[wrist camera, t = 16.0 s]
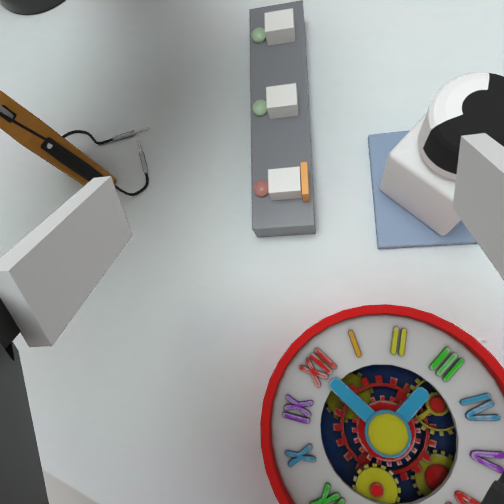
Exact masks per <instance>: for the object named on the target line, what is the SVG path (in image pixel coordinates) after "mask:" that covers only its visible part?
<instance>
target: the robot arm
mask: <svg viewBox="0 0 504 504" xmlns="http://www.w3.org/2000/svg"><path fill="white" fill-rule="evenodd" d="M62 1H63V0H0V3H1V4H2V5H3V6H4V7H5V8H7V9H8V10H10V11H12V12H15V13H18V14H34V13H39V12H42V11H45V10H48V9H50V8H52V7H54V6H56V5H57V4H59V3H60V2H62ZM453 209H454V210H455V212H456V213H457V215H458V216H459V218H460V219H461V220H462V222H463V223H464V225H465V226H466V227H467V229H468V230H469V232H470V233H471V235H472V236H473V237H474V239H475V240H476V242H477V243H478V244H479V246H480V247H481V249H482V250H483V252H484V253H485V254H486V256H487V257H488V259H489V260H490V261H491V263H492V264H493V266H494V267H495V269H496V270H497V271H498V273H499V274H500V276H501V277H502V278H503V280H504V147H503V146H502V145H500V144H499V143H498V142H496V141H495V140H494V139H492V138H491V137H490V136H488V135H487V134H486V133H481V134H472V135H464V136H461V141H460V149H459V157H458V166H457V174H456V183H455V191H454V200H453ZM131 236H132V233H131V230H130V227H129V225H128V222H127V219H126V216H125V213H124V211H123V208H122V205H121V202H120V200H119V197H118V194H117V191H116V188H115V186H114V183H113V180H112V177H111V176H106V177H98V178H93V179H92V180H91V181H90V182H88V183H87V184H86V185H85V186H84V187H83V188H81V189H80V190H79V191H78V192H77V193H76V194H74V195H73V196H72V197H71V198H70V199H69V200H67V201H66V202H65V203H64V204H63V205H62V206H60V207H59V208H58V209H57V210H56V211H55V212H53V213H52V214H51V215H50V216H49V217H48V218H46V219H45V220H44V221H43V222H42V223H41V224H39V225H38V226H37V227H36V228H35V229H34V230H32V231H31V232H30V233H29V234H28V235H27V236H25V237H24V238H23V239H22V240H21V241H20V242H18V243H17V244H16V245H15V246H14V247H13V248H11V249H10V250H9V251H8V252H7V253H6V254H4V255H3V256H2V257H1V258H0V504H49V502H48V498H47V493H46V487H45V482H44V477H43V472H42V467H41V462H40V457H39V452H38V447H37V442H36V437H35V432H34V427H33V422H32V417H31V412H30V407H29V402H28V397H27V392H26V387H25V382H24V377H23V372H22V367H21V362H20V357H19V352H18V349H17V348H16V346H15V345H14V343H13V342H12V341H13V340H14V339H15V337H16V336H17V335H18V334H19V333H21V334H22V336H23V338H24V339H25V341H26V342H27V344H28V346H29V347H41V346H52V345H53V344H54V343H55V341H56V340H57V338H58V337H59V336H60V334H61V333H62V332H63V330H64V329H65V327H66V326H67V325H68V323H69V322H70V320H71V319H72V318H73V316H74V315H75V314H76V312H77V311H78V309H79V308H80V307H81V305H82V304H83V302H84V301H85V300H86V298H87V297H88V296H89V294H90V293H91V291H92V290H93V289H94V287H95V286H96V285H97V283H98V282H99V280H100V279H101V278H102V276H103V275H104V273H105V272H106V271H107V269H108V268H109V267H110V265H111V264H112V262H113V261H114V260H115V258H116V257H117V255H118V254H119V253H120V251H121V250H122V249H123V247H124V246H125V244H126V243H127V242H128V240H129V239H130V238H131ZM481 504H504V471H503V473H502V475H501V476H500V478H499V479H498V481H497V480H495V481H494V482H493V483H492V485H491V486H490V488H489V490H488V491H487V493H486V495H485V497H484V498H483V500H482V502H481Z"/></svg>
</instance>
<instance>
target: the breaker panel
mask: <svg viewBox="0 0 504 504" xmlns="http://www.w3.org/2000/svg"><path fill="white" fill-rule="evenodd" d="M250 93H251V176H252V230H253V231H254V233H255V234H256V236H257V237H269V236H284V235H300V234H315V218H314V199H313V179H312V160H311V140H310V121H309V101H308V81H307V62H306V42H305V23H304V11H303V0H302V1H296V2H290V3H285V4H279V5H273V6H267V7H261V8H256V9H250Z"/></svg>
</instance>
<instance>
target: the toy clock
mask: <svg viewBox="0 0 504 504" xmlns="http://www.w3.org/2000/svg"><path fill="white" fill-rule="evenodd" d="M260 426H261V448H262V453H263V459H264V464H265V469H266V473H267V475H268V478H269V481H270V484H271V486H272V489H273V492H274V494H275V496H276V498H277V500H278V502H279V504H481V502H482V500H483V498H484V497H485V495H486V493H487V491H488V490H489V488H490V486H491V485H492V483H493V482H494V481H495V480H497V481H498V479H499V478H500V476H501V475H502V473H503V471H504V369H503V367H502V366H501V365H500V363H499V362H498V361H497V360H496V358H495V357H494V356H493V355H492V354H491V353H490V352H489V351H488V350H487V349H486V348H485V347H484V346H482V345H481V344H480V343H479V342H478V341H477V340H476V339H475V338H474V337H472V336H471V335H469V334H468V333H466V332H465V331H463V330H462V329H460V328H459V327H457V326H456V325H454V324H452V323H450V322H448V321H446V320H444V319H442V318H440V317H438V316H436V315H434V314H431V313H428V312H424V311H421V310H417V309H414V308H410V307H403V306H395V305H366V306H361V307H356V308H352V309H347V310H343V311H341V312H338V313H336V314H334V315H331V316H329V317H326V318H324V319H323V320H321V321H320V322H318V323H316V324H315V325H313V326H312V327H310V328H309V329H307V330H306V331H305V332H304V333H303V334H302V335H301V336H300V337H299V338H297V339H296V340H295V341H294V342H293V343H292V344H291V345H290V347H289V348H288V350H287V351H286V352H285V354H284V355H283V356H282V358H281V359H280V361H279V362H278V364H277V366H276V368H275V370H274V372H273V374H272V376H271V378H270V380H269V384H268V387H267V390H266V393H265V397H264V400H263V407H262V414H261V422H260Z"/></svg>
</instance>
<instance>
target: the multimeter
mask: <svg viewBox="0 0 504 504" xmlns="http://www.w3.org/2000/svg"><path fill="white" fill-rule="evenodd" d="M0 128H1V129H2V130H3V131H5V132H6V133H7V134H9V135H10V136H11V137H12V138H14V139H15V140H16V141H17V142H19V143H20V144H22V145H23V146H24V147H26V148H27V149H29V150H30V151H32V152H34V153H35V154H37V155H38V156H40V157H41V158H43V159H44V160H46V161H47V162H49V163H50V164H52V165H53V166H55V167H57V168H58V169H60V170H61V171H63V172H64V173H66V174H67V175H69V176H70V177H72V178H73V179H75V180H76V181H78V182H80V183H81V184H83V185H84V186H85V185H86V184H87V183H88V182H90V181H91V180H92V179H93V178H98V177H106V176H111V177H112V180H113V183H114V181H115V180H116V178H114V177H113V176H112V175H111V174H109V173H108V172H107V171H105V170H104V169H103V168H102V167H100V166H99V165H98V164H96V163H95V162H94V161H93V160H91V159H90V158H89V157H88V156H86V155H85V154H84V153H82V152H81V151H80V150H79V149H77V148H76V147H75V146H73V145H72V144H71V143H70V142H68V141H67V140H66V139H64V137H66V136H67V135H69V134H72V133H76V132H79V133H86V134H88V135H89V136H90V137H91V138H92V140H93V141H94V142H95V143H96V144H103V143H107V142H110V141H113V140H119V139H122V138H125V137H128V136H132V135H135V133H137V132H140V131H143V130H146V129H148V128H144V129H141V130H138V131H134V130H132V131H130V132H127V133H124V134H121V135H118V136H115V137H113V138H111V139H109V140H106V141H102V142H97V141H96V140H95V139H94V138H93V136H92V135H91V134H90V133H88V132H86V131H81V130H75V131H71V132H68V133H66V134H65V135H63V136H61V135H59V134H58V133H57V132H55V131H54V130H53V129H52V128H50V127H49V126H48V125H47V124H45V123H44V122H43V121H41V120H40V119H39V118H37V117H36V116H35V115H33V114H32V113H30V112H29V111H28V110H26V109H25V108H24V107H22V106H21V105H19V104H18V103H17V102H15V101H14V100H13V99H11V98H10V97H9V96H7V95H6V94H4V93H3V92H2V91H0ZM138 145H139V149H140V153H139V155H140V159H141V163H142V167H143V171H144V173H145V176H146V184H145V186H144V187H143V188H142V189H141V190H139V191H137V192H136V193H127V192H125V191H123V190H122V189H120V188H119V187H117V186H116V185H115V184H114V186H115V188H116V189H118V190H119V191H121V192H122V193H124V194H127V195H130V196H134V195H137V194H139V193H140V192H142V191H143V190H144V189H145V188H146V187H147V185H148V174H147V173H148V172H147V166H146V162H145V158H144V152H142V150H141V146H140V142H139V140H138Z"/></svg>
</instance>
